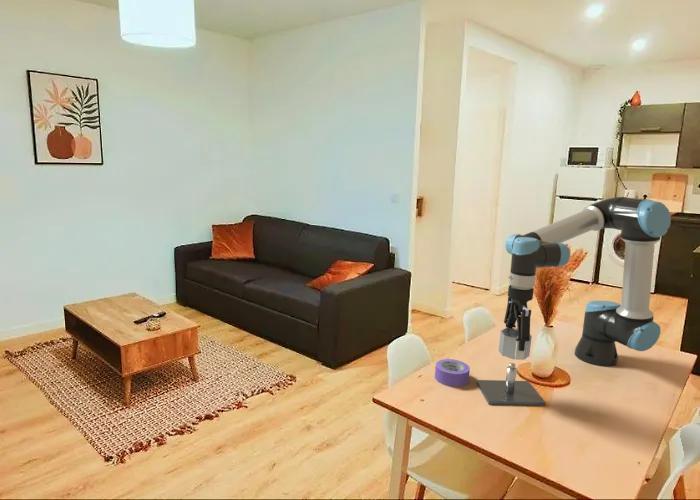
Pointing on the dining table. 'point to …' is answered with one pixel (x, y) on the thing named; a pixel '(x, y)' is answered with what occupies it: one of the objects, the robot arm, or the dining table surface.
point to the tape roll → (452, 372)
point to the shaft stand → (510, 390)
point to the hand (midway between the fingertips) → (513, 352)
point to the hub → (511, 343)
